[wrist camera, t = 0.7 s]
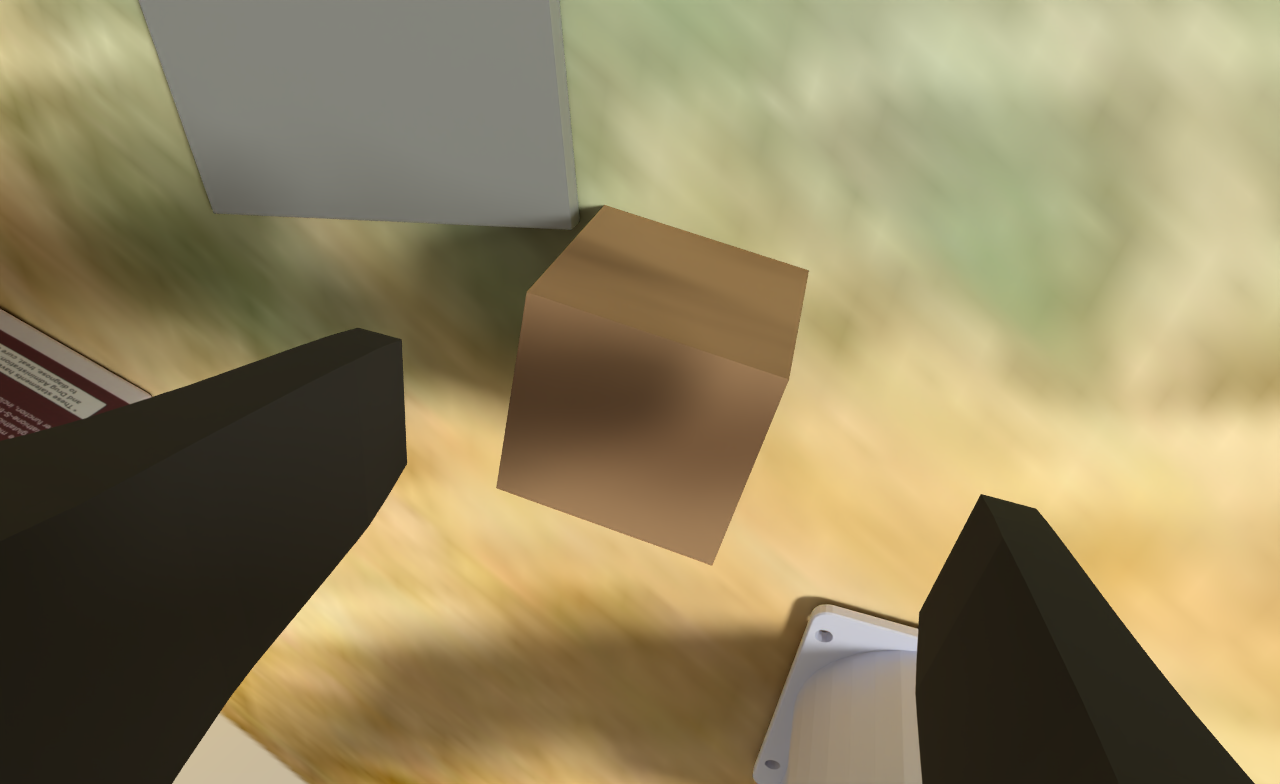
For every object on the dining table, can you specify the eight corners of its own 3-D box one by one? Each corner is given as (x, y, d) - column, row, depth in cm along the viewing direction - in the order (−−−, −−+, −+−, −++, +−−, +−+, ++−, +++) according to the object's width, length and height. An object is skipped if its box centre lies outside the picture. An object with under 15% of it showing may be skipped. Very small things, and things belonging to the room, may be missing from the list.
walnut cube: (744, 433, 21) (712, 565, 16) (570, 374, 21) (496, 488, 17) (809, 269, 18) (788, 379, 14) (605, 203, 18) (526, 291, 14)
